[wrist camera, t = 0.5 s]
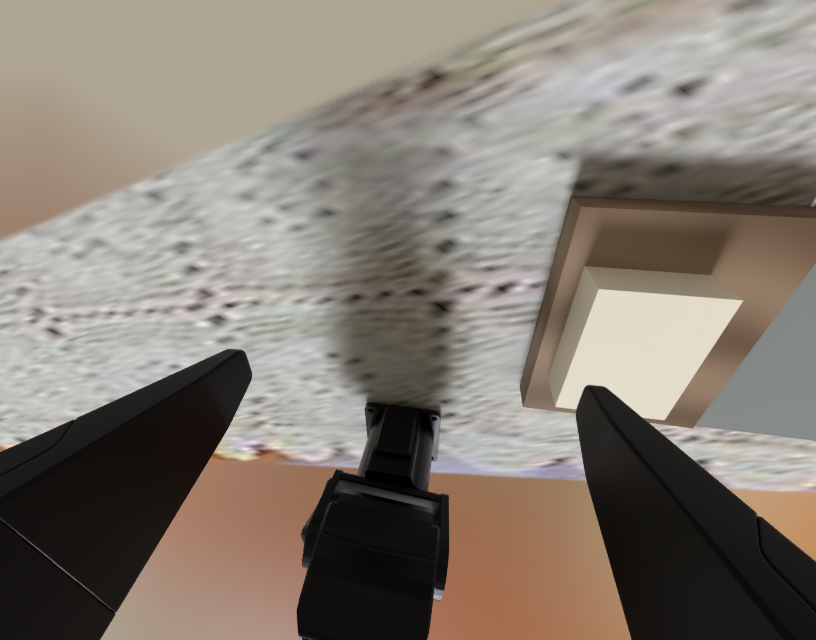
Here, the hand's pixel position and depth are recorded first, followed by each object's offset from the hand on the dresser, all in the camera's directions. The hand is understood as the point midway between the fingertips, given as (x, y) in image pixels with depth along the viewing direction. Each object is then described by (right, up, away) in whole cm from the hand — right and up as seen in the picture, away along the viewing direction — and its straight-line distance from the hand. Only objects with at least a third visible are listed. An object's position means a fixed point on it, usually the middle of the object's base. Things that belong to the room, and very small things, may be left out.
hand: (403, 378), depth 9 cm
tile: (+12, +1, +11) cm, 16 cm away
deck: (+14, +2, +12) cm, 19 cm away
